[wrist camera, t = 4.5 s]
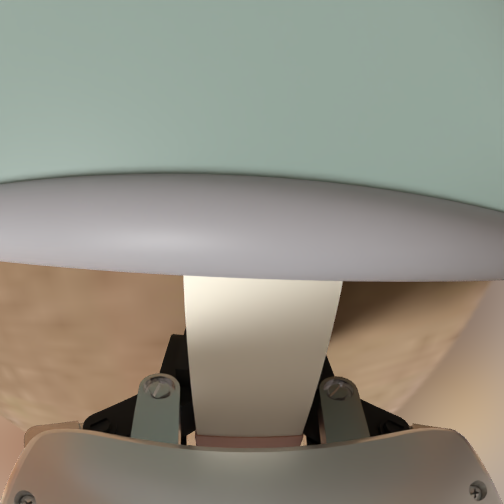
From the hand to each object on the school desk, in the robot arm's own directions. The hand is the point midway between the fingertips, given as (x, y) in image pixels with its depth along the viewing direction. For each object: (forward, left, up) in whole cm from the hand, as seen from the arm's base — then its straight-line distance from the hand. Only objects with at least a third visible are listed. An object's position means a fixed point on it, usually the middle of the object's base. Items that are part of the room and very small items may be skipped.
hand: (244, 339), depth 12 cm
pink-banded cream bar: (-5, 0, 0) cm, 5 cm away
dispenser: (-14, 0, -1) cm, 14 cm away
